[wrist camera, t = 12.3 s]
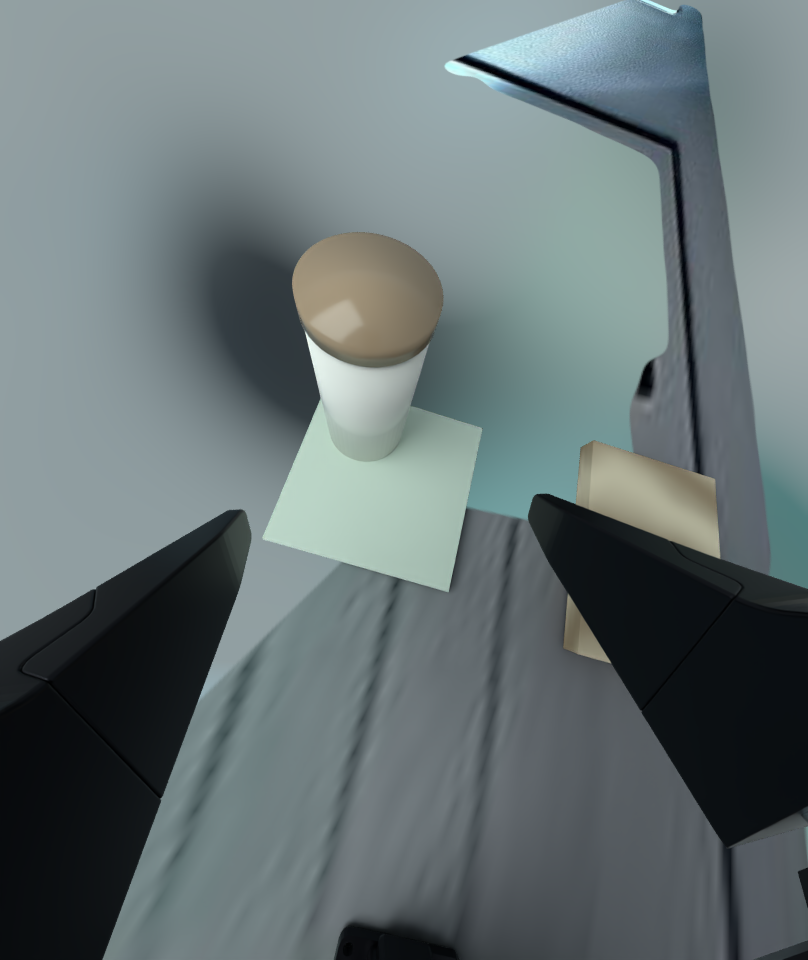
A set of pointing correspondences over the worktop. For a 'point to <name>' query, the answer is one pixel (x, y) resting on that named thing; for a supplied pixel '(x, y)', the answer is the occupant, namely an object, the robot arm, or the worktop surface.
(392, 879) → the worktop surface
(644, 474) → the board
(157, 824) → the worktop surface
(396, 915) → the worktop surface
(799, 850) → the worktop surface
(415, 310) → the jar
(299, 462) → the mat
